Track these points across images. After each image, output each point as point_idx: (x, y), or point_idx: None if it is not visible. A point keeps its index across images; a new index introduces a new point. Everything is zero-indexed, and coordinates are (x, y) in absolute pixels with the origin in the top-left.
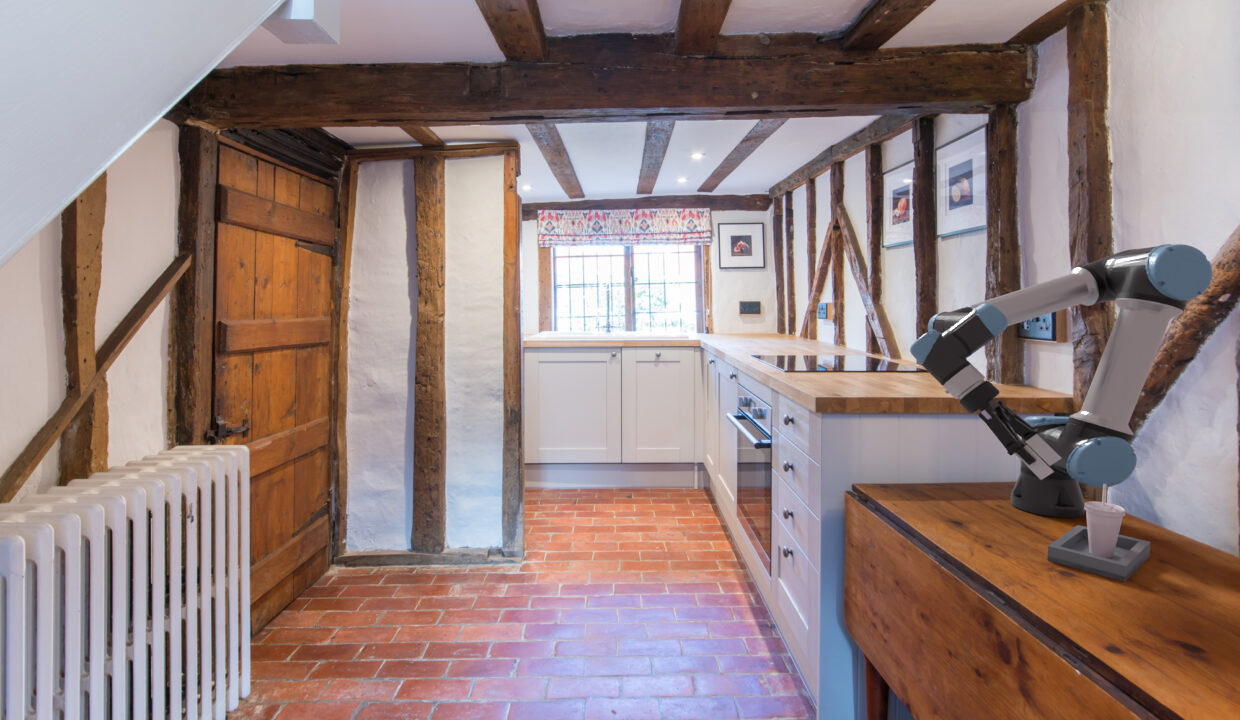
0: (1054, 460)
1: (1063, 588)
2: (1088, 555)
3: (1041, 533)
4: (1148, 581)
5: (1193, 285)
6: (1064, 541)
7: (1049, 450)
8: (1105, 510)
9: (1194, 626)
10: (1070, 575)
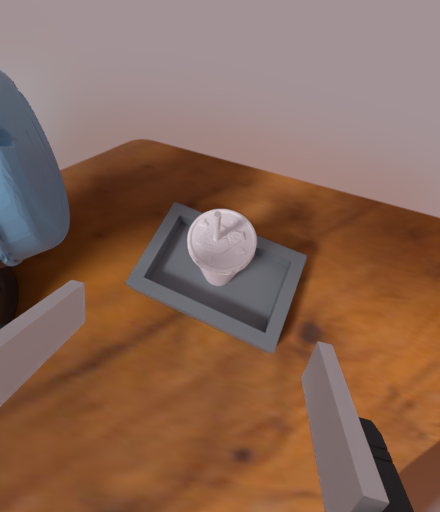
0: (80, 305)
1: (375, 346)
2: (289, 296)
3: (124, 342)
4: (279, 237)
5: None
6: (234, 321)
7: (50, 317)
8: (249, 242)
9: (394, 228)
10: (315, 328)
